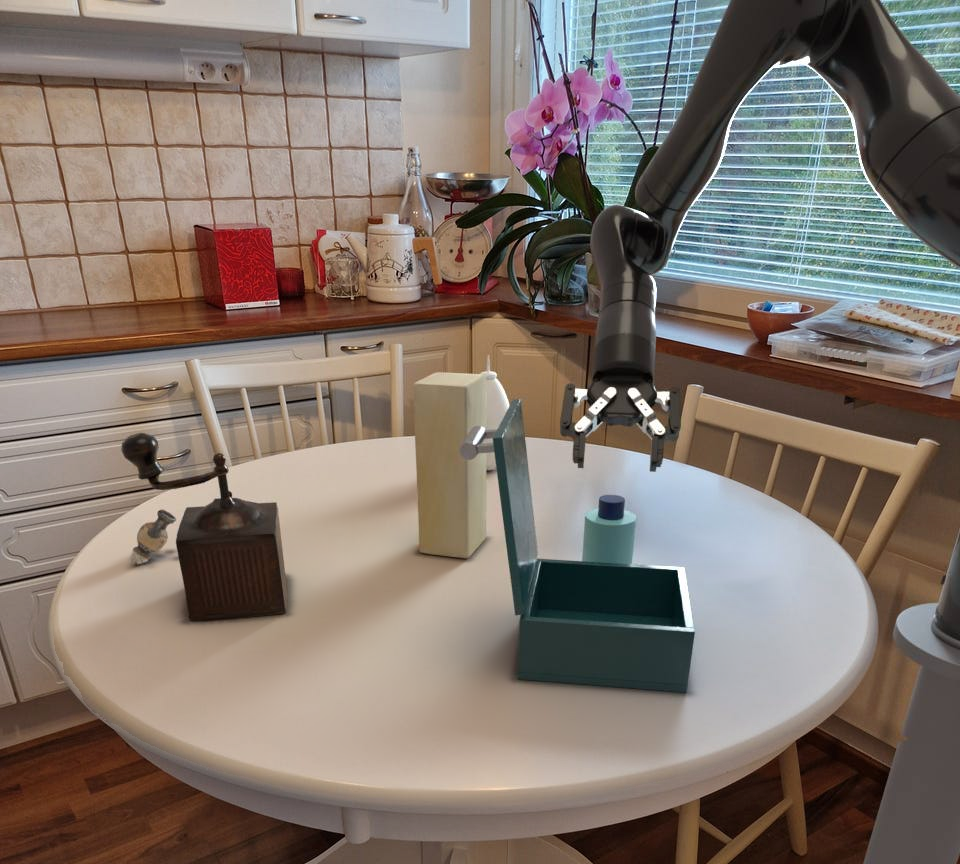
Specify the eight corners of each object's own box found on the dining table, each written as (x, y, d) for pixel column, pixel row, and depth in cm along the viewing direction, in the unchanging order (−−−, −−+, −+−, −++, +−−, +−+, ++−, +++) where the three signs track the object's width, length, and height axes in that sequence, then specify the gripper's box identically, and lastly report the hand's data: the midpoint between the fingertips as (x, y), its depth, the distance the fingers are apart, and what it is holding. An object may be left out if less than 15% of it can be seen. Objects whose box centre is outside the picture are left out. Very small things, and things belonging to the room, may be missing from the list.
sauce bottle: (490, 459, 144) (491, 348, 135) (521, 469, 138) (524, 355, 130) (454, 467, 140) (452, 354, 131) (483, 478, 134) (484, 361, 126)
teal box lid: (520, 398, 82) (474, 403, 83) (502, 437, 69) (447, 442, 70) (537, 553, 89) (495, 556, 90) (523, 614, 76) (474, 617, 77)
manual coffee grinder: (288, 574, 101) (270, 422, 92) (287, 614, 91) (268, 450, 83) (151, 584, 98) (121, 429, 90) (136, 627, 89) (101, 458, 80)
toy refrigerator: (434, 531, 114) (431, 370, 104) (487, 537, 112) (488, 374, 102) (412, 552, 107) (406, 382, 97) (468, 560, 105) (467, 387, 95)
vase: (185, 548, 108) (177, 503, 105) (178, 565, 103) (170, 518, 100) (140, 551, 107) (131, 505, 104) (132, 568, 102) (122, 521, 100)
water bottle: (629, 582, 99) (637, 491, 94) (629, 602, 95) (638, 508, 89) (581, 578, 100) (587, 489, 95) (579, 598, 95) (585, 505, 90)
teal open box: (677, 621, 90) (684, 567, 87) (686, 692, 78) (695, 632, 75) (532, 611, 92) (534, 558, 89) (517, 679, 80) (519, 619, 77)
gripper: (566, 329, 102) (556, 448, 98) (687, 332, 100) (682, 453, 96) (567, 366, 109) (557, 479, 105) (679, 369, 108) (674, 484, 103)
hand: (616, 466), depth 100 cm, fingers open, 8 cm apart
